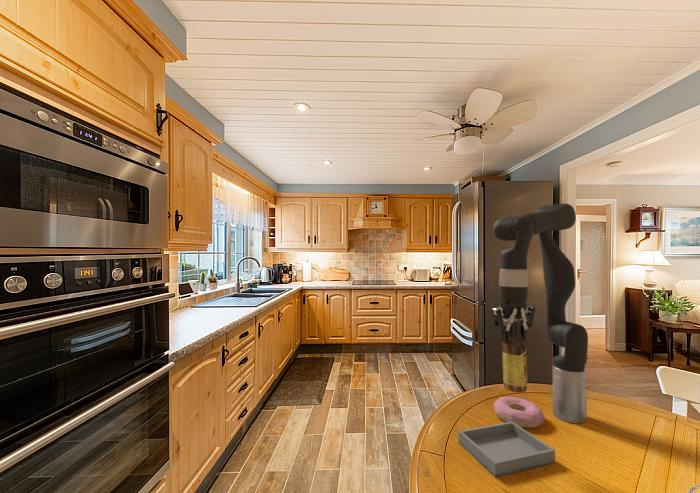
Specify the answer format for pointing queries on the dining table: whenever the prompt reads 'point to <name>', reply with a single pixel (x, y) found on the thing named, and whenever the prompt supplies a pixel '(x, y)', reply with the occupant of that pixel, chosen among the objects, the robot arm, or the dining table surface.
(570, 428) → the dining table surface
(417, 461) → the dining table surface
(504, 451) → the tray
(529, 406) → the donut
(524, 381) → the sauce bottle
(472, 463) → the dining table surface
